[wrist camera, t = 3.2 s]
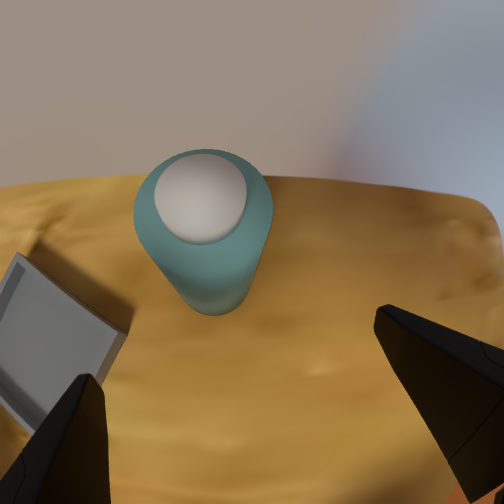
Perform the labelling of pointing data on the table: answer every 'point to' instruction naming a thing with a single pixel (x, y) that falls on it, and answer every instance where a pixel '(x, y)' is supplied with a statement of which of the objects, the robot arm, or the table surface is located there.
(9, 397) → the tray
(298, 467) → the table surface
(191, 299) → the pepper mill
